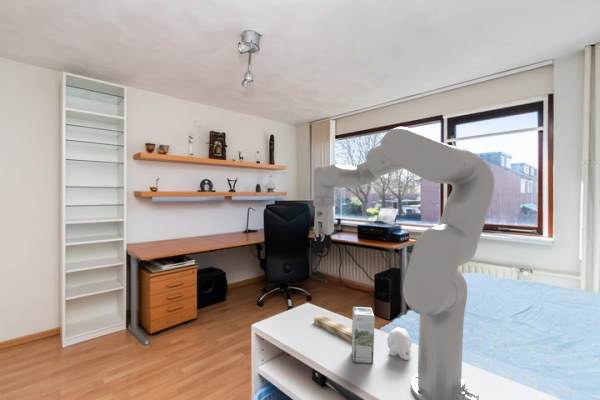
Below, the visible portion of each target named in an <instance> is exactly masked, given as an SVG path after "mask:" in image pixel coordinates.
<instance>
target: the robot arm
mask: <svg viewBox="0 0 600 400" xmlns="http://www.w3.org/2000/svg"><path fill="white" fill-rule="evenodd" d="M365 157H366V158H365V160H366V161H364V162H362V163H359V164H357V165H346V164H329V165H328V166H317V167H315V168H314V170H313V207H315V209H314V223H313V224H314V227H313V228H314V229H313V230H314V233H315V234H314V253H316V254H324V253H325V249H331V248H332V234H333V233H334V231H335V219H334V207H335V204H336V203H335V201H336V199H335V198H336V197H335V196H336V195H335V194H336V188H339V189H341V188H345V189H346V188H349V189H354V188H358V187H362V186H365V185H368V184H371V183H373V182H376V181H377V180H378V179H380V178H381V177H382V176H385V175H388V174H391V173H394V172H398V171H400V170H402V169H403V170H406V171H408V172H410V173H412V174H414V175H415V176H418V177H419V178H420V179H423V180H425V181H427V182H431V183H435V184H443V185H444V184H447V185H448V184H449V185H451V187H452V190H451V192H450V194H449V196H448V197H447V199H446V202H445V204H444V208H443V212H442V215H441V219H440V221H439V224H437V225H436V226H431V227H429V228H426V229H425V230H424V231H422V232H421V234H419V236H418V237H417V238H416V241H415V242H414V244H413V248H412V252H411V254H410V258H409V261H408V266H407V268H406V273H405V276H404V281H403V286H402V291H403V293H402V294H403V297H404V300H405V303H406V304H407V306H408V308H410V309H411V310H412V311H413V312H414V313H416V314H417V315H419V325H418V354H417V355H418V357H417V358H418V359H417V361H418V362H417V373H416V374H415V375H413V377H411V379H410V389H411V390H412V393H413V394H414V395H415V397H416V398H417V399H418V400H479V399H480V395H479V394H478V393H476V392H474V391H470V390H469V389H468V387H466V381H467V380H465V379H463V377H462V373H463V370H462V369H463V368H462V367H463V340H464V339H463V337H464V321H465V312H466V311H465V310H466V305H467V299H468V284H467V282H466V279H465V277H464V276H463V274H462V273H461V272H460V271H459V270H458V268H459V267H461V266H463V265H465V264H467V263H469V262H470V261H471V260H472V259H473V258H474V257H475V254H476V252H477V249H478V245H479V242H480V239H481V235H482V232H483V230H484V227H485V223H486V219H487V216H488V212H489V210H490V206H491V203H492V201H493V197H494V192H495V177H494V175H493V172H492V169H491V168H490V166H489V165H488V163H487V162H486V161H485V160H483V158H481V157H480V156H478V155H477V154H475V153H473V152H472V151H469V150H467V149H465V148H461V147H458V146H457V147H456V146H454V145H449V144H446V143H444V142H442V141H438V140H435V139H433V138H430V137H428V136H427V135H425V134H424V133H423V132H420V131H418V130H414V129H411V128H409V127H406V126H405V127H404V126H398V127H394V128H392V129H390V130H389V131H388V130H387V132H386V133H385V134H384V135H383V136H382V139H381V141H380V144H378V145H377V146H375V147H371V148H370V149H369V150H368V151H367V152H366V156H365Z"/></svg>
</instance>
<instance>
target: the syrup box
mask: <svg viewBox="0 0 600 400" xmlns="http://www.w3.org/2000/svg"><path fill="white" fill-rule="evenodd" d="M351 329H352V342H351V353H352V354H351V355H352V358H353V363H359V364H369V365H370V364H372V365H373V364H374V353H375V352H374V349H375V348H374V346H375V345H374V344H375V315H374V312H373V308H372V307H369V306H368V307H364V306H352V327H351Z"/></svg>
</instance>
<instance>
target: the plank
mask: <svg viewBox="0 0 600 400" xmlns="http://www.w3.org/2000/svg"><path fill="white" fill-rule="evenodd" d="M313 323H314V324H316V325H317V326H319V327H321V328H324V329H325V330H327V331H329V332H331V333H333V334H335V335H337V336H339V337H340V338H343V339H344V340H347V341H349V342H350V343H352V328H350V327H348V326H345V325H344V324H341V323H339V322H337V321H336V320H334V319H331V318H329V317H326V316H324V315H322V314H320V315H317V316H315V317H313Z"/></svg>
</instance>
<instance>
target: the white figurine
mask: <svg viewBox="0 0 600 400" xmlns="http://www.w3.org/2000/svg"><path fill="white" fill-rule="evenodd" d="M386 338H387V339H386V340H387V341H386V342H387V347H388V349H389V351H388V354H389V355H390V356H392V357H393V356H394V357H395V356H396V355H399V358H401V359H402V360H405V361H409V360H410V356H409V355H410V353H411V347H412V339H411V336H410V335H409V333H408V331H407V330H406V329H405V328H403V327H399V326H397V327H395V328H393V329H391V331H389V333H388V336H387V337H386ZM407 354H408V355H407Z"/></svg>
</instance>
